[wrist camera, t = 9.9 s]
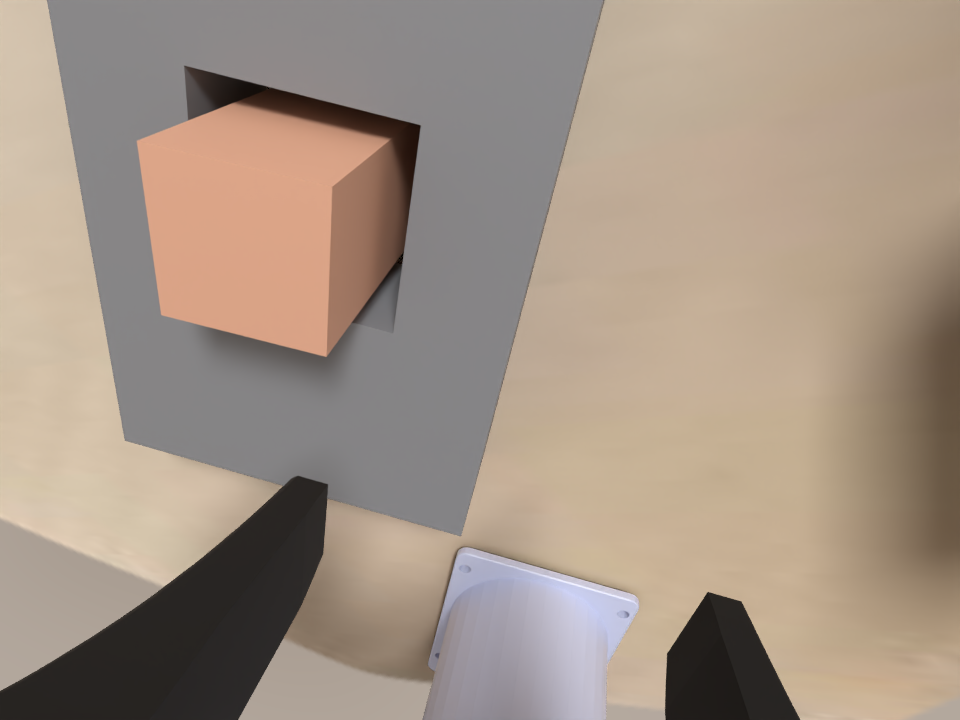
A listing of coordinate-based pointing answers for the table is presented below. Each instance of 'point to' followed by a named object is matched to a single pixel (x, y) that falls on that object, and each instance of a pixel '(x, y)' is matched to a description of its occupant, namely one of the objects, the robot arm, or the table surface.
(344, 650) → the table surface
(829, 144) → the table surface
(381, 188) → the peg
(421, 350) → the socket board
